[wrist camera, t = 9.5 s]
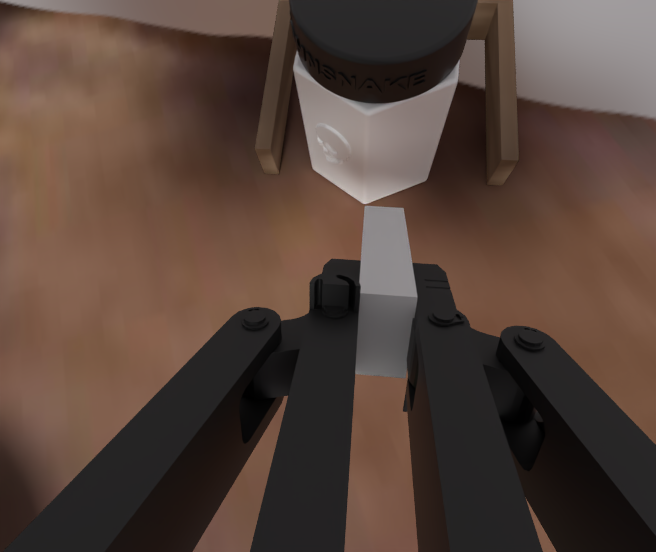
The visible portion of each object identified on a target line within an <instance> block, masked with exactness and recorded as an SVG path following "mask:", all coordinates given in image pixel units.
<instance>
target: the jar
mask: <svg viewBox="0 0 656 552" xmlns="http://www.w3.org/2000/svg"><path fill="white" fill-rule="evenodd" d="M477 3H478V0H289V5H290V18H291V20H290V22H291V27H292V33H293V38H294V42H296V46H297V51H296V56H295V60H294V65H293V71H294V76H295V82H296V87H297V92H298V97H299V102H300V107H301V113H302V118H303V123H304V128H305V133H306V138H307V144H308V149H309V154H310V159H311V164H312V168H313V170H315V171H316V172H317V173H319V174H320V175H322V176H323V177H325V178H326V179H328V180H329V181H331V182H332V183H333V184H335V185H336V186H338V187H339V188H341V189H342V190H344V191H345V192H347V193H348V194H349V195H351V196H352V197H354V198H355V199H357V200H358V201H360V202H361V203H363V204H368V203H370V202H373V201H375V200H378V199H381V198H383V197H386V196H388V195H391V194H394V193H396V192H399V191H401V190H404V189H407V188H409V187H412V186H414V185H417V184H420V183H422V182H425V181H426V180H427V179H428V176H429V172H430V169H431V166H432V163H433V160H434V156H435V153H436V150H437V147H438V144H439V140H440V137H441V134H442V131H443V128H444V125H445V121H446V118H447V115H448V112H449V109H450V105H451V102H452V99H453V96H454V93H455V89H456V86H457V83H458V78H459V65H460V57H461V55H462V52H463V50H464V46H465V43H466V40H467V36H468V33H469V30H470V27H471V23H472V20H473V17H474V13H475V10H476V7H477Z"/></svg>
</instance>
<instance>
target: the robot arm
mask: <svg viewBox="0 0 656 552" xmlns="http://www.w3.org/2000/svg"><path fill="white" fill-rule="evenodd" d="M407 370H408V381H407V387H406V394H405V400H404V407H403V411H404V412H408V425H409V437H410V450H411V463H412V476H413V488H414V501H415V514H416V527H417V539H418V552H543V551H542V548H541V545H540V542H539V539H538V535H537V532H536V529H535V526H534V523H533V520H532V517H531V514H530V511H529V507H528V504H527V501H528V502H529V504H530V506H531V507H532V509H533V511H534V513H535V514H536V516H537V518H538V520H539V521H540V523H541V525H542V527H543V528H544V530H545V532H546V534H547V535H548V537H549V539H550V541H551V542H552V544H553V546H554V548H555V549H556V551H557V552H656V445H655V444H654V443H653V442H652V441H651V440H650V439H649V438H648V436H647V435H646V434H645V433H644V432H643V431H642V430H641V429H640V428H639V427H638V426H637V425H636V424H635V423H634V422H633V421H632V420H631V419H630V418H629V417H628V416H627V415H626V414H625V413H624V412H623V411H622V410H621V409H620V408H619V406H618V405H617V404H616V403H615V402H614V401H613V400H612V399H611V398H610V397H609V396H608V395H607V394H606V393H605V392H604V391H603V390H602V389H601V388H600V387H599V386H598V385H597V384H596V383H595V382H594V381H593V380H592V379H591V378H590V377H589V375H588V374H587V373H586V372H585V371H584V370H583V369H582V368H581V367H580V366H579V365H578V364H577V363H576V362H575V361H574V360H573V359H572V358H571V357H570V356H569V355H568V354H567V353H566V352H565V351H564V350H563V349H562V348H561V347H560V345H559V344H558V343H557V342H556V341H555V340H554V339H552V338H551V337H550V336H548V335H547V334H545V333H543V332H541V331H539V330H537V329H534V328H530V327H526V326H512V327H507V328H506V329H504V330H503V331H502V332H501V336H500V338H499V337H496V336H492V335H488V334H485V333H482V332H479V331H476V330H474V329H472V328H471V327H470V324H469V321H468V320H467V318H466V316H465V315H463V314H462V313H461V312H459V311H458V310H457V309H456V306H455V303H454V299H453V296H452V292H451V290H450V286H449V283H448V279H447V276H446V272H444V271H443V270H442V269H441V268H440V267H439V266H438V265H435V264H420V263H412V259H411V253H410V246H409V240H408V234H407V227H406V221H405V215H404V208H393V207H376V206H365V212H364V225H363V239H362V253H361V261H358V260H344V259H331V260H330V261H329V262H327V263H326V264H325V265H324V268H323V272H322V274H319V275H318V276H316V277H314V278H313V279H312V280H311V282H310V310H309V313H308V314H306V315H305V316H302V317H299V318H296V319H291V320H283V321H281V319H280V316H279V315H278V314H277V313H276V312H275V311H273V310H270V309H268V308H261V307H254V308H247V309H244V310H242V311H239V312H237V313H236V314H235V315H233V316H232V317H231V318H230V319H229V320H228V321H227V322H226V323H225V324H224V325H223V326H222V327H221V328H220V329H219V330H218V331H217V332H216V333H215V334H214V335H213V336H212V338H211V339H210V340H209V341H208V342H207V343H206V344H205V345H204V346H203V347H202V348H201V349H200V350H199V351H198V352H197V353H196V354H195V355H194V356H193V357H192V358H191V359H190V360H189V361H188V362H187V363H186V364H185V365H184V366H183V367H182V368H181V369H180V370H179V371H178V372H177V373H176V374H175V375H174V377H173V378H172V379H171V380H170V381H169V382H168V383H167V384H166V385H165V386H164V387H163V388H162V389H161V390H160V391H159V392H158V393H157V394H156V395H155V396H154V397H153V398H152V399H151V400H150V401H149V402H148V403H147V404H146V405H145V406H144V407H143V408H142V409H141V410H140V411H139V412H138V413H137V414H136V416H135V417H134V418H133V419H132V420H131V421H130V422H129V423H128V424H127V425H126V426H125V427H124V428H123V429H122V430H121V431H120V432H119V433H118V434H117V435H116V436H115V437H114V438H113V439H112V440H111V441H110V442H109V443H108V444H107V445H106V446H105V447H104V448H103V449H102V450H101V451H100V452H99V453H98V455H97V456H96V457H95V458H94V459H93V460H92V461H91V462H90V463H89V464H88V465H87V466H86V467H85V468H84V469H83V470H82V471H81V472H80V473H79V474H78V475H77V476H76V477H75V478H74V479H73V480H72V481H71V482H70V483H69V484H68V485H67V486H66V487H65V488H64V489H63V490H62V491H61V493H60V494H59V495H58V496H57V497H56V498H55V499H54V500H53V501H52V502H51V503H50V504H49V505H48V506H47V507H46V508H45V509H44V510H43V511H42V512H41V513H40V514H39V515H38V516H37V517H36V518H35V519H34V520H33V521H32V522H31V523H30V524H29V525H28V526H27V527H26V528H25V529H24V530H23V532H22V533H21V534H20V535H19V536H18V537H17V538H16V539H15V540H14V541H13V542H12V543H11V544H10V545H9V546H8V547H7V548H6V549H5V550H4V551H3V552H192V551H193V550H194V548H195V546H196V545H197V543H198V542H199V540H200V538H201V537H202V535H203V533H204V532H205V530H206V528H207V527H208V525H209V523H210V522H211V520H212V518H213V517H214V515H215V513H216V512H217V510H218V508H219V507H220V505H221V503H222V502H223V500H224V498H225V497H226V495H227V493H228V492H229V490H230V488H231V487H232V485H233V483H234V482H235V480H236V478H237V477H238V475H239V473H240V472H241V470H242V468H243V467H244V465H245V463H246V462H247V460H248V458H249V457H250V455H251V453H252V452H253V450H254V448H255V447H256V445H257V443H258V442H259V440H260V438H261V437H262V435H263V433H264V432H265V430H266V428H267V427H268V425H269V423H270V422H271V420H272V418H273V417H274V415H275V413H276V412H277V410H278V408H279V407H280V405H281V403H282V401H283V397H284V396H287V395H288V399H287V403H286V407H285V411H284V416H283V420H282V424H281V428H280V432H279V436H278V440H277V444H276V448H275V452H274V456H273V460H272V464H271V468H270V472H269V476H268V481H267V485H266V489H265V493H264V497H263V501H262V505H261V509H260V513H259V517H258V521H257V525H256V529H255V533H254V537H253V541H252V546H251V550H250V552H344V545H345V529H346V513H347V497H348V481H349V465H350V448H351V432H352V416H353V400H354V384H355V374H362V375H374V376H385V377H397V378H406V371H407ZM537 411H538V412H537ZM525 497H526V498H525ZM526 499H527V501H526Z"/></svg>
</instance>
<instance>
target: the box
mask: <svg viewBox="0 0 656 552" xmlns="http://www.w3.org/2000/svg"><path fill="white" fill-rule="evenodd" d="M290 20H291V18H290V5H289V0H279V3H278V9H277V15H276V21H275V27H274V33H273V40H272V46H271V52H270V58H269V64H268V70H267V76H266V82H265V89H264V95H263V101H262V107H261V113H260V119H259V125H258V132H257V138H256V144H255V151H256V153H257V156H258V158H259V161H260V163H261V166H262V168H263V171H264V173H265V174H279V170H280V163H281V156H282V149H283V142H284V135H285V128H286V121H287V114H288V107H289V100H290V93H291V86H292V79H293V65H294V60H295V56H296V50H297V46H296V42H294V38H293V33H292V27H291V22H290ZM467 39H468V40H485V84H486V85H485V91H486V167H487V185H503V184H504V182H505V181H506V179H507V178H508V176H509V175H510V173H511V172H512V170H513V169H514V167H515V166H516V164H517V163H518V161H519V149H518V122H517V96H516V69H515V43H514V17H513V0H478V3H477V7H476V10H475V13H474V17H473V20H472V23H471V27H470V30H469V33H468V36H467Z"/></svg>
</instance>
